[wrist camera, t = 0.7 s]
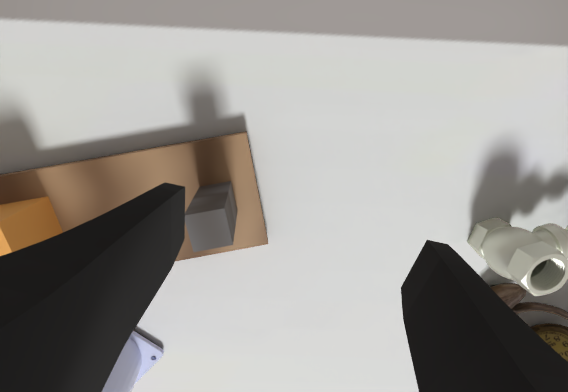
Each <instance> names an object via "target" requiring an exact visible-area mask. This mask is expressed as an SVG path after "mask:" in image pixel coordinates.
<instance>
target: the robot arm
mask: <svg viewBox="0 0 568 392" xmlns="http://www.w3.org/2000/svg"><path fill="white" fill-rule="evenodd" d="M184 239H185V187H184V186H180V185H175V184H171V183H166V182H165V183H163V184H160V185H158V186H156V187H154V188H152V189H151V190H149V191H147V192H145V193H143V194H141V195H139V196H137V197H135V198H134V199H132V200H130V201H128V202H126V203H124V204H122V205H120V206H118V207H116V208H114V209H112V210H110V211H108V212H106V213H104V214H102V215H100V216H98V217H96V218H94V219H92V220H89V221H87V222H85V223H83V224H81V225H78V226H76V227H74V228H72V229H70V230H68V231H65V232H63V233H61V234H58V235H56V236H54V237H51V238H49V239H46V240H44V241H41V242H38V243H36V244H33V245H30V246H28V247H25V248H22V249H20V250H17V251H14V252H11V253H8V254H6V255H2V256H0V392H131V391H132V389H133V386H134V384H135V383H136V382H137V381H138V380H139V379H140V378H141V377H142V376H143V375H144V374H145V373H146V372H147V371H148V370H149V369H150V368H151V367H152V366H153V365H154V364H155V363H156V362H157V361H158V360H159V359H160V358H161V357H162V356H163V353H164V351H163V349H162V348H160V347H159V346H157V345H155V344H154V343H152V342H151V341H149V340H147V339H146V338H144V337H143V336H141V335H139V334H138V333H136V332H135V331H133V330H134V329H135V327H136V325H137V324H138V322H139V320H140V319H141V317H142V316H143V314H144V312H145V311H146V309H147V308H148V306H149V304H150V303H151V301H152V300H153V298H154V296H155V295H156V293H157V291H158V290H159V288H160V287H161V285H162V283H163V282H164V280H165V278H166V277H167V275H168V273H169V272H170V270H171V268H172V266H173V264H174V262H175V260H176V258H177V256H178V253H179V251H180V249H181V246H182V244H183V242H184ZM401 294H402V309H403V319H404V324H405V329H406V334H407V339H408V344H409V348H410V353H411V357H412V362H413V366H414V371H415V375H416V380H417V384H418V389H419V392H568V361H566V360H565V359H564V358H563V357H562V356H561V355H559V354H558V353H557V352H556V351H555V350H554V349H553V348H552V347H551V346H549V345H548V344H547V343H546V342H545V341H544V340H543V339H542V338H541V337H540V336H539V335H538V334H537V333H536V332H534V331H533V330H532V329H531V328H530V327H529V326H528V325H527V324H526V323H525V322H524V321H523V320H522V319H521V318H520V317H519V316H518V315H517V314H516V313H515V312H514V311H513V310H512V309H511V308H510V307H509V306H508V305H507V304H506V303H505V302H504V301H503V300H502V299H501V298H500V297H499V296H498V295H497V294H496V293H495V292H494V291H493V290H492V289H491V288H490V287H489V286H488V285H487V284H486V283H485V281H484V280H483V279H482V278H481V277H480V276H479V275H478V274H477V273H476V272H475V271H474V270H473V269H472V268H471V267H470V266H469V265H468V264H467V263H466V262H465V261H464V260H463V259H462V257H461V256H460V255H459V254H458V253H456V252H455V251H454V250H453V249H452V248H451V247H450V246H449V245H448V244H443V243H439V242H434V241H430V240H427V241H426V243H425V245H424V247H423V248H422V250H421V252H420V254H419V256H418V257H417V259H416V261H415V263H414V265H413V267H412V268H411V270H410V272H409V274H408V276H407V278H406V279H405V281H404V283H403V285H402V287H401ZM153 356H156V357H153Z"/></svg>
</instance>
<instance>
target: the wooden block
mask: <svg viewBox="0 0 568 392" xmlns="http://www.w3.org/2000/svg"><path fill="white" fill-rule="evenodd" d="M165 182H166V183H171V184H175V185H180V186H184V187H185V239H184V242H183V244H182V246H181V249H180V251H179V253H178V256H177V258H176V260H175V261H179V260H185V259H190V258H195V257H201V256H206V255H211V254H217V253H222V252H228V251H233V250H238V249H244V248H249V247H254V246H260V245H265V244H268V238H267V233H266V228H265V223H264V218H263V213H262V208H261V203H260V198H259V193H258V187H257V182H256V177H255V172H254V167H253V162H252V157H251V152H250V147H249V142H248V137H247V132H240V133H235V134H229V135H223V136H218V137H212V138H206V139H201V140H195V141H189V142H183V143H178V144H172V145H166V146H161V147H155V148H149V149H144V150H138V151H132V152H127V153H121V154H115V155H110V156H104V157H98V158H92V159H87V160H81V161H75V162H70V163H64V164H58V165H53V166H47V167H41V168H36V169H30V170H24V171H19V172H13V173H7V174H2V175H0V205H2V204H8V203H13V202H19V201H24V200H30V199H36V198H41V197H47V196H48V197H49V200H50V202H51V204H52V207H53V209H54V212H55V214H56V217H57V219H58V221H59V224H60V226H61V229H62V231H63V232H65V231H68V230H70V229H72V228H74V227H76V226H78V225H81V224H83V223H85V222H87V221H89V220H92V219H94V218H96V217H98V216H100V215H102V214H104V213H106V212H108V211H110V210H112V209H114V208H116V207H118V206H120V205H122V204H124V203H126V202H128V201H130V200H132V199H134V198H135V197H137V196H139V195H141V194H143V193H145V192H147V191H149V190H151V189H152V188H154V187H156V186H158V185H160V184H163V183H165Z"/></svg>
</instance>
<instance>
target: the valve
mask: <svg viewBox="0 0 568 392" xmlns="http://www.w3.org/2000/svg"><path fill="white" fill-rule="evenodd" d="M468 244H469V245H470V246H471V247H472V248H473V249H474V250H475V251H476V253H477V254H478V255H479V256H481V257H482V258H483V259H485V261H486V263H487V264H488V265H489V267H490V268H491V269H492V270H493V271H494V272H496V273H497V274H499V275H500V276H502V277H504V278H507V279H511V280H515V281H516V282H517V283H518V284H519V285H520V286H521V287H522V288H524V289H525V290H526V291H528V292H529V293H531V294H532V295H533V296H541V295H546V294H550V293H553V292H555V291H557V290H559V289H560V288H561V287H562V286H563V285H564V284H565V282H566V281H567V279H568V226H567V227H566V228H565V229H563V228H562V227H560V226H559V225H556V224H553V223H548V224H545V225H541V226H538V227H536V228H534V229H533V231H532V232H530V231H528V230H526V229H523V228H519V227H512V226H511V225H510V224H509V223H507V222H505V221H503V220H501V219H499V218H497V217H496V218H492V219H489V220H485V221H482V222H478V223H476V224H475V226H474V229H473V231H472V233H471V235H470V237H469V239H468Z"/></svg>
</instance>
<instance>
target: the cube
mask: <svg viewBox="0 0 568 392" xmlns="http://www.w3.org/2000/svg"><path fill="white" fill-rule="evenodd" d="M61 233H63V231H62V229H61V226H60V224H59V221H58V219H57V217H56V214H55V212H54V209H53V207H52V204H51V202H50V200H49V197H48V196H47V197H41V198H36V199H30V200H24V201H19V202H13V203H8V204H2V205H0V256H2V255H6V254H8V253H11V252H14V251H17V250H20V249H22V248H25V247H28V246H30V245H33V244H36V243H38V242H41V241H44V240H46V239H49V238H51V237H54V236H56V235H58V234H61Z"/></svg>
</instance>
